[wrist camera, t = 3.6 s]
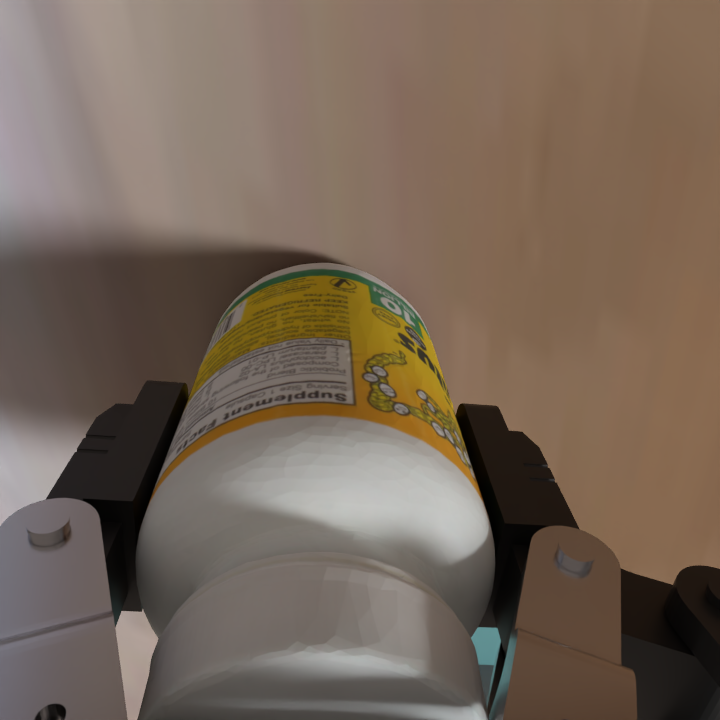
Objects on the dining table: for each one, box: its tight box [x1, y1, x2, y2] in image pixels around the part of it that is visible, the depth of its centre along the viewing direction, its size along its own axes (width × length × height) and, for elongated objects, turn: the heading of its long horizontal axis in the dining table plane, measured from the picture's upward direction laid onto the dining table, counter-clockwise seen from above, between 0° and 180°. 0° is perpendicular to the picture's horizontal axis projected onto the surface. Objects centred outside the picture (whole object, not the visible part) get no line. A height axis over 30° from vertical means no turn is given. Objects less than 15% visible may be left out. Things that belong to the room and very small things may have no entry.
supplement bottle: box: [135, 263, 495, 720], centre depth 11 cm, size 5×5×10 cm
